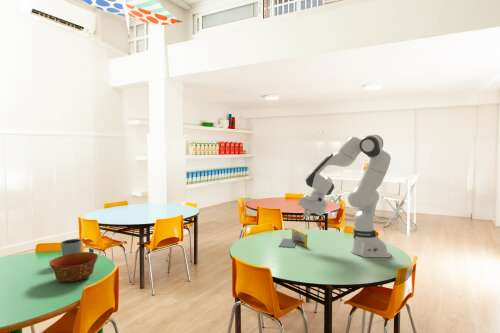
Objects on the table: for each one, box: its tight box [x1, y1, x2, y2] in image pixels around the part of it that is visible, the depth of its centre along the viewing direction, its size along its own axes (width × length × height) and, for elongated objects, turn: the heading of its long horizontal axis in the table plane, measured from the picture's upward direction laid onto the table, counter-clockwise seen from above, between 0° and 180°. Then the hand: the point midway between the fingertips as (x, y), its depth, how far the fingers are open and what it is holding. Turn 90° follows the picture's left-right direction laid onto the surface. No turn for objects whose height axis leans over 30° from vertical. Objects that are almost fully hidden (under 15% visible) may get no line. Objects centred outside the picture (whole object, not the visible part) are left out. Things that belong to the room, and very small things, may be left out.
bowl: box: [48, 251, 99, 283], centre depth 159 cm, size 21×21×10 cm
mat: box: [278, 238, 297, 249], centre depth 221 cm, size 10×20×1 cm, turn 166°
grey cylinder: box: [60, 238, 82, 256], centre depth 183 cm, size 10×10×12 cm
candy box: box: [291, 228, 308, 248], centre depth 219 cm, size 16×2×8 cm, turn 25°
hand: (305, 216), depth 215 cm, fingers closed
